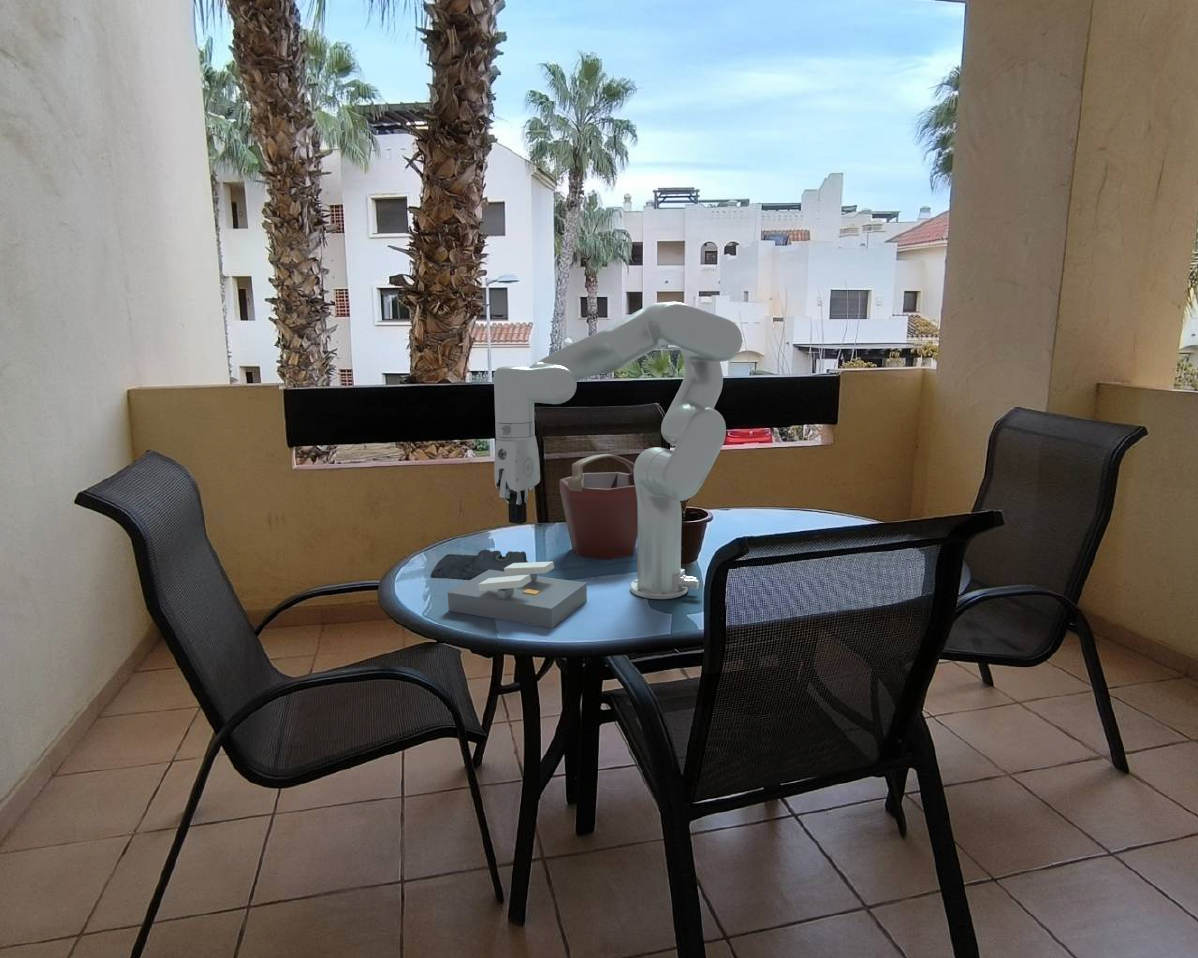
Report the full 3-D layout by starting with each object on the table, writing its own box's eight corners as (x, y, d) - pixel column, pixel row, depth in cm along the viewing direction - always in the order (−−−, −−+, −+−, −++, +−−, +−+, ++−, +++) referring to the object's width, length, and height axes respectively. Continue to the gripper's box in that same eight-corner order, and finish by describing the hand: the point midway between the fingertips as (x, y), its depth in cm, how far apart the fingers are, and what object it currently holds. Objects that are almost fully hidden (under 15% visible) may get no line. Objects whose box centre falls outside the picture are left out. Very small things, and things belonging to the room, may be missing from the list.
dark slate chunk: (449, 560, 190) (448, 542, 189) (533, 563, 186) (532, 545, 185) (425, 580, 175) (424, 560, 174) (516, 584, 172) (516, 564, 171)
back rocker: (554, 567, 160) (553, 561, 160) (545, 573, 156) (544, 566, 156) (514, 569, 164) (513, 563, 164) (504, 574, 160) (503, 568, 160)
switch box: (586, 600, 159) (586, 575, 158) (552, 628, 145) (551, 600, 144) (490, 586, 169) (489, 562, 168) (448, 610, 154) (447, 584, 153)
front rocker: (531, 580, 151) (529, 574, 151) (521, 587, 147) (520, 580, 147) (490, 584, 155) (488, 578, 155) (479, 590, 152) (478, 584, 151)
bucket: (582, 568, 181) (580, 466, 176) (542, 546, 200) (539, 453, 195) (665, 552, 193) (666, 456, 188) (619, 533, 212) (619, 445, 207)
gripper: (510, 436, 137) (513, 533, 140) (551, 427, 150) (552, 516, 154) (476, 434, 140) (480, 529, 144) (519, 425, 153) (521, 512, 157)
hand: (517, 522), depth 149 cm, fingers closed
